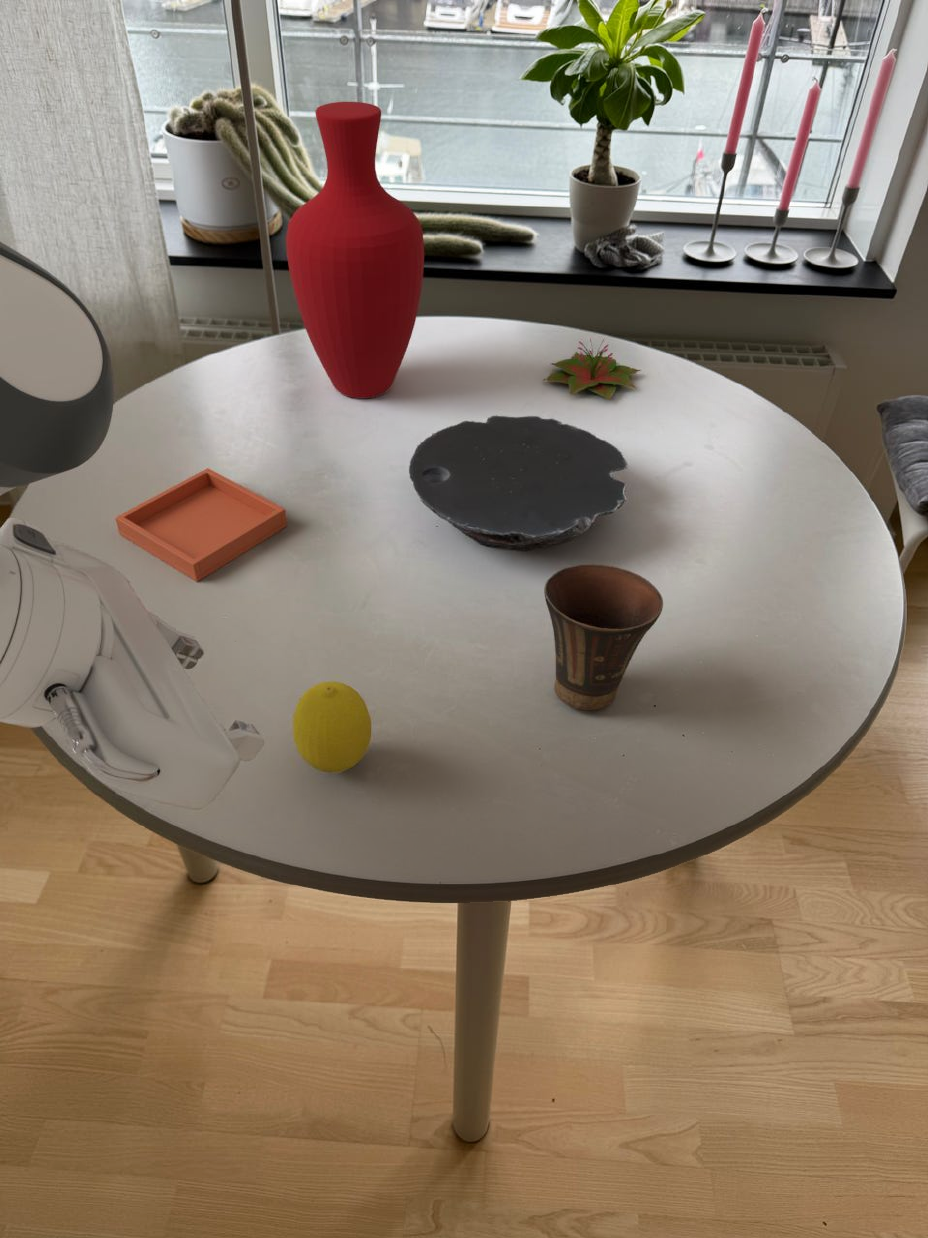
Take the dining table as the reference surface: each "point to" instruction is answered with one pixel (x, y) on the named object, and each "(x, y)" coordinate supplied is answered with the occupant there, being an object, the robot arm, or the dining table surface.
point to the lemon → (331, 727)
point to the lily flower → (592, 373)
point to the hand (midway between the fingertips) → (223, 697)
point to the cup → (597, 629)
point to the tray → (201, 523)
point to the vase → (356, 259)
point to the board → (518, 480)
